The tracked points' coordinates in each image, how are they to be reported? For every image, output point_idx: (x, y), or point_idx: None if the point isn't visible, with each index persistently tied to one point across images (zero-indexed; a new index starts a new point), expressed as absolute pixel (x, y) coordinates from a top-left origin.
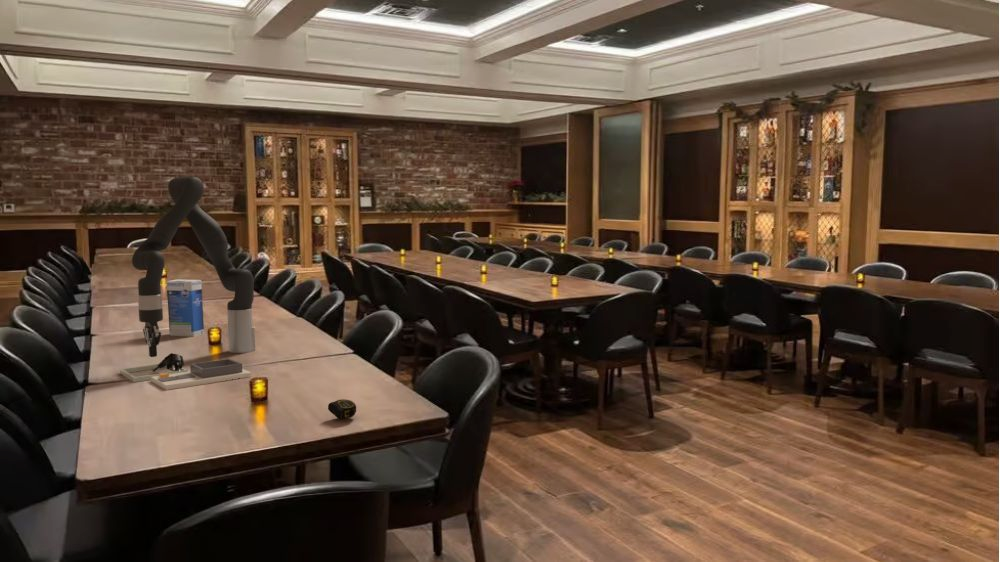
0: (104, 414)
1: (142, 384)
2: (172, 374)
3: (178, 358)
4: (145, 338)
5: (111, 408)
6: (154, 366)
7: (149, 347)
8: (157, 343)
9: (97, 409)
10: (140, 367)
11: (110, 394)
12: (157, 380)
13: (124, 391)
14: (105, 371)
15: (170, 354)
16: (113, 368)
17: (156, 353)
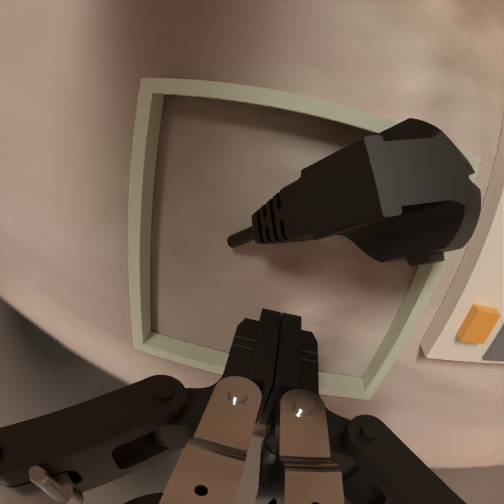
0: (501, 455)
1: (426, 378)
2: (485, 277)
3: (477, 208)
4: (120, 449)
5: (494, 449)
6: (146, 194)
7: (265, 417)
8: (379, 439)
9: (474, 462)
10: (141, 271)
11: (422, 446)
12: (490, 362)
13: (435, 426)
14: (78, 336)
15: (378, 220)
16: (44, 294)
17: (299, 332)
